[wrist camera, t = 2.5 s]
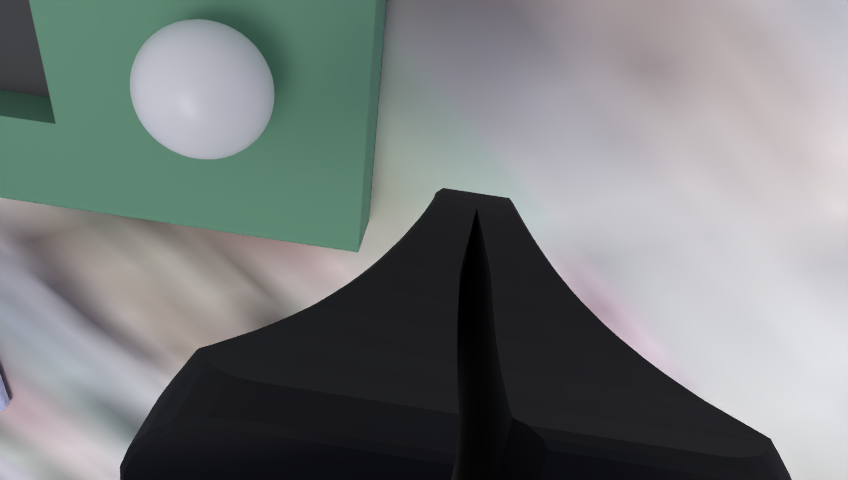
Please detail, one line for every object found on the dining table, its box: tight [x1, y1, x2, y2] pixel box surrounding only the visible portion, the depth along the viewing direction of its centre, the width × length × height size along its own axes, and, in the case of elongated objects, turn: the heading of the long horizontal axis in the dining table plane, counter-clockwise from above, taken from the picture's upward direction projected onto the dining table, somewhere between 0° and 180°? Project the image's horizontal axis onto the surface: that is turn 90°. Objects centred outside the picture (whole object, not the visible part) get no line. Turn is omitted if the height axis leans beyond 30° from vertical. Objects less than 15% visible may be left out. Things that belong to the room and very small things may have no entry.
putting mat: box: [0, 0, 386, 252], centre depth 19 cm, size 20×11×2 cm, turn 83°
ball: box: [130, 19, 275, 160], centre depth 16 cm, size 4×4×4 cm
